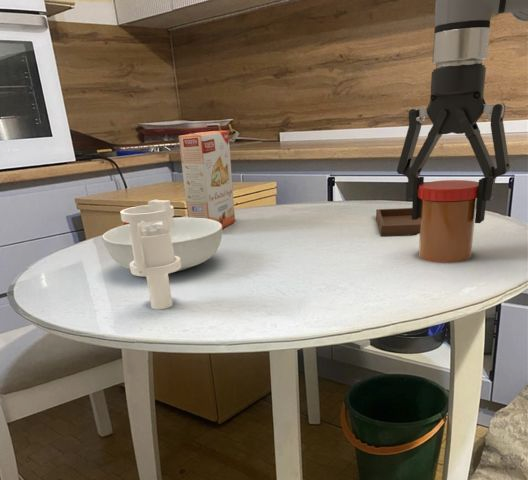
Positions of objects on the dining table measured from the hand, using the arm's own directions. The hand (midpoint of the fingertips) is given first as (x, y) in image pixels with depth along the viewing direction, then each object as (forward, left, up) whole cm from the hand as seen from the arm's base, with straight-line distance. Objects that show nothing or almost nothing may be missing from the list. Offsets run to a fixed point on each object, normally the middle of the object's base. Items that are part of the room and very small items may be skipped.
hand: (447, 219), depth 87 cm
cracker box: (+56, -7, -7) cm, 57 cm away
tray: (+14, -22, -6) cm, 27 cm away
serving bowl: (+43, +22, -7) cm, 49 cm away
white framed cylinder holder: (+29, +38, -7) cm, 48 cm away
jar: (0, 0, -6) cm, 6 cm away
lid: (0, 0, +5) cm, 5 cm away
